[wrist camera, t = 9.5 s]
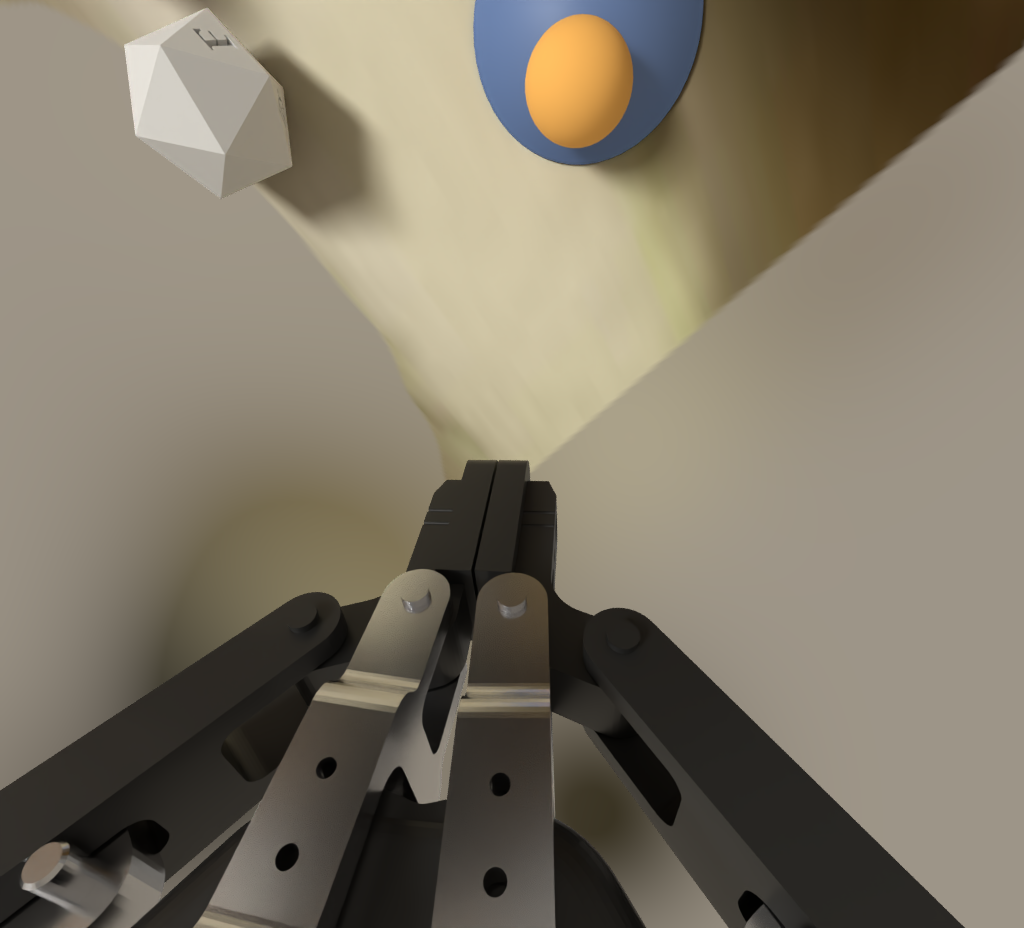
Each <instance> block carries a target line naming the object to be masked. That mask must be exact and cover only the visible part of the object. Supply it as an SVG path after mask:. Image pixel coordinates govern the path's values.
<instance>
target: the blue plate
mask: <svg viewBox="0 0 1024 928" xmlns="http://www.w3.org/2000/svg"><path fill="white" fill-rule="evenodd" d="M576 14H590V15H595V16H598V17H600V18H602V19H604V20H606V21H608V22H609V23H610V24H611V25H613V26H614V27H615V28H616V29H617V30H618V31H619V33H620V34H621V35H622V37H623V38H624V40H625V42H626V44H627V46H628V49H629V52H630V55H631V59H632V65H633V86H632V93H631V97H630V101H629V104H628V106H627V109H626V111H625V113H624V115H623V117H622V119H621V120H620V122H619V123H618V125H617V126H616V127H615V128H614V129H613V130H612V131H611V132H610V133H609V134H608V135H607V136H606V137H605V138H604V139H602V140H600V141H599V142H597V143H595V144H593V145H590V146H587V147H583V148H567V147H563V146H560V145H558V144H556V143H553V142H552V141H550V140H549V139H548V138H546V137H545V136H544V135H543V134H542V133H541V132H540V130H539V129H538V128H537V126H536V125H535V123H534V121H533V119H532V117H531V115H530V112H529V109H528V106H527V102H526V95H525V77H526V71H527V66H528V62H529V59H530V57H531V54H532V52H533V50H534V47H535V46H536V44H537V42H538V41H539V39H540V38H541V37H542V35H543V34H544V33H545V32H546V31H547V30H548V29H549V28H550V27H551V26H552V25H554V24H555V23H556V22H558V21H560V20H561V19H564V18H566V17H569V16H572V15H576ZM702 17H703V0H476V2H475V11H474V47H475V55H476V62H477V67H478V71H479V75H480V79H481V82H482V85H483V88H484V91H485V93H486V96H487V98H488V100H489V102H490V104H491V106H492V108H493V111H494V112H495V114H496V115H497V117H498V118H499V120H500V121H501V123H502V124H503V126H504V127H505V128H506V129H507V130H508V132H509V133H510V134H511V135H512V136H513V137H514V138H515V139H516V140H517V141H518V142H520V143H521V144H522V145H523V146H525V147H526V148H527V149H529V150H530V151H532V152H533V153H535V154H537V155H539V156H541V157H543V158H546V159H549V160H552V161H555V162H559V163H565V164H581V165H583V164H591V163H597V162H600V161H604V160H607V159H610V158H613V157H615V156H617V155H619V154H622V153H624V152H625V151H627V150H628V149H630V148H632V147H633V146H635V145H636V144H638V143H639V142H640V141H641V140H643V139H644V138H645V137H646V136H647V135H648V134H649V133H650V132H651V131H652V130H653V129H654V128H655V127H656V126H657V125H658V124H659V123H660V122H661V121H662V119H663V118H664V117H665V116H666V114H667V113H668V112H669V111H670V109H671V107H672V106H673V104H674V103H675V101H676V100H677V98H678V96H679V94H680V92H681V90H682V88H683V86H684V84H685V82H686V80H687V78H688V75H689V73H690V70H691V68H692V65H693V62H694V59H695V55H696V52H697V48H698V44H699V39H700V33H701V27H702Z"/></svg>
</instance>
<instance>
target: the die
mask: <svg viewBox="0 0 1024 928" xmlns="http://www.w3.org/2000/svg"><path fill="white" fill-rule="evenodd" d="M124 46H125V54H126V62H127V71H128V78H129V87H130V95H131V103H132V111H133V119H134V127H135V134H136V137H138V138H139V139H141V140H142V141H143V142H145V143H146V144H147V145H149V146H150V147H151V148H153V149H154V150H155V151H157V152H158V153H160V154H161V155H162V156H164V157H165V158H166V159H168V160H169V161H170V162H172V163H173V164H174V165H176V166H177V167H178V168H180V169H181V170H182V171H184V172H185V173H187V174H188V175H189V176H191V177H192V178H193V179H195V180H196V181H197V182H199V183H200V184H201V185H203V186H204V187H205V188H207V189H208V190H209V191H211V192H212V193H214V194H215V195H216V196H218V197H219V198H220V199H222V198H224V197H226V196H228V195H231V194H233V193H235V192H237V191H239V190H242V189H244V188H246V187H248V186H251V185H253V184H255V183H257V182H259V181H262V180H264V179H266V178H268V177H271V176H273V175H275V174H277V173H279V172H282V171H284V170H286V169H288V168H290V167H293V166H292V157H291V149H290V141H289V132H288V124H287V116H286V107H285V99H284V91H283V87H282V86H281V85H280V84H279V83H278V82H277V81H276V80H275V78H274V77H273V76H272V75H271V74H270V73H269V72H268V71H267V70H266V69H265V68H264V67H263V66H262V65H261V64H260V63H259V62H258V61H257V59H256V58H255V57H254V56H253V55H252V54H251V53H250V52H249V51H248V50H247V49H246V48H245V47H244V46H243V45H242V44H241V42H240V41H239V40H238V39H237V38H236V37H235V36H234V35H233V34H232V33H231V32H230V31H229V30H228V29H227V28H226V27H225V26H224V25H223V23H222V22H221V21H220V20H219V19H218V18H217V17H216V16H215V15H214V14H213V13H212V12H211V11H210V10H209V9H208V8H205V9H202V10H200V11H198V12H196V13H194V14H191V15H189V16H187V17H185V18H182V19H180V20H178V21H176V22H174V23H171V24H169V25H167V26H165V27H162V28H160V29H158V30H156V31H154V32H151V33H149V34H147V35H145V36H143V37H140V38H138V39H136V40H134V41H131V42H129V43H127V44H125V45H124Z"/></svg>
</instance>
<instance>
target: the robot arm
mask: <svg viewBox="0 0 1024 928" xmlns="http://www.w3.org/2000/svg"><path fill="white" fill-rule="evenodd" d="M556 510H557V506H556V494H555V492H554V491H553V489H552V487H551V485H550V483H549V482H548V481H530V468H529V461H520V460H499V462H498V461H497V460H468V461H467V464H466V467H465V470H464V473H463V477H462V480H446V481H445V482H444V484H443V485H442V486H441V487H440V488H439V489H438V490H437V491H436V492H435V493H434V495H433V498H432V501H431V503H430V506H429V512H427V515H426V517H425V520H424V525H423V526H422V529H421V532H420V534H419V537H418V540H417V543H416V546H415V549H414V551H413V554H412V557H411V560H410V562H409V565H408V568H407V571H406V573H403V574H401V575H399V576H398V577H396V578H395V579H394V580H393V581H391V583H389V584H388V586H387V587H386V588H385V590H384V592H383V594H382V596H380V597H377V598H375V599H372V600H368V601H364V602H360V603H355V604H351V605H347V606H342V607H340V605H339V603H338V601H337V600H336V599H335V598H334V597H333V596H331V595H329V594H326V593H321V592H312V593H307V594H303V595H300V596H298V597H295V598H293V599H292V600H290V601H288V602H287V603H285V604H284V605H282V606H281V607H279V608H278V609H276V610H274V611H273V612H271V613H270V614H268V615H267V616H265V617H264V618H262V619H261V620H259V621H258V622H256V623H255V624H253V625H252V626H250V627H249V628H247V629H246V630H244V631H243V632H241V633H239V634H238V635H236V636H235V637H233V638H232V639H230V640H229V641H227V642H226V643H224V644H223V645H221V646H220V647H218V648H217V649H215V650H214V651H212V652H210V653H209V654H208V655H206V656H204V657H203V658H201V659H200V660H199V661H197V662H195V663H194V664H192V665H191V666H189V667H188V668H186V669H185V670H183V671H182V672H180V673H179V674H177V675H175V676H174V677H173V678H171V679H169V680H168V681H166V682H165V683H163V684H162V685H160V686H159V687H157V688H156V689H154V690H153V691H151V692H150V693H148V694H147V695H145V696H144V697H142V698H140V699H139V700H137V701H136V702H135V703H133V704H131V705H130V706H128V707H127V708H125V709H124V710H122V711H121V712H119V713H118V714H116V715H115V716H113V717H112V718H110V719H108V720H107V721H106V722H104V723H103V724H101V725H99V726H98V727H96V728H95V729H93V730H92V731H90V732H89V733H87V734H86V735H84V736H83V737H81V738H80V739H78V740H77V741H75V742H74V743H72V744H71V745H69V746H67V747H66V748H65V749H63V750H61V751H60V752H58V753H57V754H55V755H54V756H52V757H51V758H49V759H48V760H46V761H45V762H43V763H42V764H40V765H38V766H37V767H35V768H34V769H33V770H31V771H29V772H28V773H26V774H25V775H23V776H22V777H20V778H19V779H17V780H16V781H14V782H13V783H11V784H10V785H8V786H6V787H5V788H3V789H2V790H0V928H646V927H645V925H644V923H643V921H642V920H641V918H640V917H639V915H638V913H637V911H636V910H635V908H634V906H633V905H632V903H631V901H630V900H629V898H628V896H627V894H626V893H625V891H624V889H623V888H622V886H621V884H620V883H619V881H618V879H617V878H616V876H615V874H614V873H613V871H612V870H611V868H610V867H609V866H608V864H607V863H606V862H605V860H604V859H603V858H602V857H601V855H600V854H599V853H598V852H597V851H596V850H595V848H594V847H593V846H592V845H591V844H590V843H589V842H588V841H587V840H586V839H585V838H583V837H582V836H581V835H580V834H578V833H577V832H576V831H575V830H573V829H572V828H570V827H569V826H567V825H565V824H564V823H562V822H561V821H559V820H557V819H555V806H554V805H555V803H554V774H553V773H554V772H553V737H552V712H554V713H556V714H559V715H561V716H563V717H565V718H568V719H570V720H572V721H575V722H577V723H579V724H581V725H583V727H584V729H585V731H586V733H587V735H588V736H589V737H590V739H591V740H592V742H593V743H594V744H595V746H596V747H597V749H598V750H599V751H600V753H601V754H602V755H603V757H604V758H605V759H606V761H607V762H608V764H609V765H610V766H611V767H612V769H613V770H614V772H615V773H616V774H617V776H618V777H619V779H620V780H621V781H622V783H623V784H624V785H625V787H626V788H627V789H628V791H629V792H630V794H631V795H632V796H633V797H634V799H635V800H636V802H637V803H638V804H639V806H640V807H641V809H642V810H643V811H644V812H645V814H646V815H647V817H648V818H649V819H650V821H651V822H652V824H653V825H654V826H655V828H656V829H657V830H658V832H659V833H660V834H661V836H662V837H663V839H664V840H665V841H666V843H667V844H668V845H669V847H670V848H671V849H672V851H673V852H674V854H675V855H676V856H677V858H678V859H679V860H680V862H681V863H682V864H683V866H684V867H685V869H686V870H687V871H688V873H689V874H690V875H691V877H692V878H693V879H694V881H695V882H696V884H697V885H698V886H699V888H700V889H701V890H702V892H703V893H704V894H705V896H706V897H707V899H708V900H709V901H710V903H711V904H712V905H713V907H714V908H715V910H716V911H717V912H718V914H719V915H720V916H721V918H722V919H723V920H724V922H725V923H726V924H727V926H728V927H729V928H965V927H964V926H963V925H961V924H960V923H959V922H958V921H957V920H956V919H955V918H954V917H953V916H952V915H951V914H950V913H949V912H948V911H947V910H946V909H945V908H944V907H943V906H942V905H941V904H940V903H939V902H938V901H937V900H936V899H935V898H934V897H933V896H932V895H931V894H930V893H929V892H928V891H927V890H926V889H925V888H924V887H923V886H922V885H920V884H919V882H918V881H916V880H915V879H914V878H913V877H912V876H911V875H910V874H909V873H908V872H907V871H906V870H905V869H904V868H903V867H902V866H901V865H900V864H899V863H898V862H897V861H896V860H895V859H894V858H893V857H892V856H891V855H890V854H889V853H888V852H887V851H886V850H885V849H884V848H883V847H882V846H881V845H880V844H879V843H878V842H877V841H876V840H875V839H873V838H872V837H871V836H870V835H869V834H868V833H867V832H866V831H865V830H864V829H863V828H862V827H861V826H860V825H859V824H858V823H857V822H856V821H855V820H854V819H853V818H852V817H851V816H850V815H849V814H848V813H847V812H846V811H845V810H844V809H843V808H842V807H841V806H840V805H839V804H838V803H837V802H836V801H835V800H834V799H833V798H832V797H830V795H828V793H826V792H825V791H824V790H823V789H822V788H821V787H820V786H819V785H818V784H817V783H816V782H815V781H814V780H813V779H812V778H811V777H810V776H809V775H808V774H807V773H806V772H805V771H804V770H803V769H802V768H801V767H800V766H799V765H798V764H797V763H796V762H795V761H794V760H792V758H791V757H789V755H788V754H787V753H786V752H784V750H782V749H781V748H780V747H779V746H778V745H777V744H776V743H775V742H774V741H773V740H772V739H771V738H770V737H769V736H768V735H767V734H766V733H765V732H764V731H763V730H762V729H761V728H760V727H759V726H758V725H757V724H756V723H755V722H754V721H753V720H752V719H751V718H750V717H749V716H748V715H747V714H746V713H745V712H744V711H743V710H742V709H741V708H740V707H739V706H738V705H736V704H735V703H734V702H733V701H732V700H731V699H730V698H729V697H728V696H727V695H726V694H725V693H724V692H723V691H722V690H721V689H720V688H719V687H718V686H717V685H716V684H715V683H714V682H713V681H712V680H711V679H710V678H709V677H708V676H707V675H706V674H705V673H704V672H703V671H702V670H701V669H700V668H699V667H698V666H697V665H696V664H694V663H693V661H692V660H690V659H689V658H688V657H687V656H686V655H685V654H684V653H683V652H682V651H681V650H680V649H679V648H678V647H677V646H676V645H675V644H674V643H673V642H672V641H671V640H670V639H669V638H668V637H667V636H666V635H665V634H664V633H663V632H662V631H661V630H660V629H659V628H658V627H657V626H656V625H655V624H654V623H652V621H650V620H649V619H648V618H647V617H645V616H644V615H642V614H641V613H638V612H636V611H633V610H630V609H625V608H611V609H607V610H603V611H601V612H599V613H597V614H596V615H595V616H593V615H590V614H587V613H584V612H582V611H579V610H576V609H574V608H572V607H570V606H569V605H567V604H566V603H564V602H563V601H562V600H561V599H560V598H559V597H558V595H557V594H556V593H555V591H554V589H555V569H556V552H557V511H556ZM470 640H472V649H471V659H470V667H469V676H468V685H467V691H466V695H465V696H462V698H461V700H460V696H461V693H462V689H463V685H464V682H465V678H466V674H467V664H466V660H467V655H468V650H469V645H470ZM459 700H460V703H459ZM458 704H459V708H458V713H457V722H456V729H455V738H454V746H453V755H452V762H451V770H450V779H449V788H448V795H447V800H442V801H439V799H440V793H441V782H442V765H443V759H444V755H445V751H446V747H447V744H448V740H449V736H450V733H451V729H452V725H453V721H454V718H455V714H456V711H457V707H458ZM259 801H261V802H260V804H259V806H258V808H257V810H256V812H255V814H254V816H253V818H252V820H250V821H249V822H248V823H246V824H245V825H244V826H243V827H241V828H240V829H239V830H238V831H236V832H235V833H234V834H233V835H232V836H231V837H230V838H229V839H227V840H226V841H225V842H224V843H223V844H222V845H221V846H220V847H219V848H218V849H216V850H215V851H214V852H213V853H212V854H211V855H210V856H209V857H208V858H207V859H205V860H204V861H203V862H202V863H201V864H200V865H199V866H198V867H197V868H196V869H194V871H192V872H191V873H190V874H189V875H188V876H187V877H186V878H185V879H183V880H182V881H181V882H180V883H179V884H178V885H177V886H176V887H175V888H174V889H172V890H171V891H170V892H169V893H168V894H167V895H166V896H165V897H164V898H163V899H162V900H161V898H160V896H161V894H162V890H163V887H164V883H165V882H166V881H167V880H168V879H169V878H170V877H171V876H173V875H174V874H175V873H176V872H177V871H179V870H180V869H181V868H182V867H183V866H184V865H186V864H187V863H188V862H189V861H190V860H192V859H193V858H194V857H195V856H196V855H197V854H199V853H200V852H201V851H202V850H203V849H204V848H206V847H207V846H208V845H209V844H210V843H211V842H213V841H214V840H215V839H216V838H217V837H218V836H220V835H221V834H222V833H223V832H224V831H225V830H226V829H228V828H229V827H230V826H231V825H232V824H233V823H235V822H236V821H237V820H238V819H239V818H241V817H242V816H243V815H244V814H245V813H246V812H247V811H249V810H250V809H251V808H252V807H254V806H255V805H256V804H257V803H258V802H259Z"/></svg>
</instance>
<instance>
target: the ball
mask: <svg viewBox="0 0 1024 928" xmlns="http://www.w3.org/2000/svg"><path fill="white" fill-rule="evenodd" d="M632 86H633V65H632V59H631V55H630V52H629V49H628V46H627V44H626V42H625V40H624V38H623V37H622V35H621V34H620V33H619V31H618V30H617V29H616V28H615V27H614V26H613V25H611V24H610V23H609V22H608V21H606V20H604V19H602V18H600V17H598V16H595V15H590V14H576V15H572V16H569V17H566V18H564V19H561V20H560V21H558V22H556V23H555V24H554V25H552V26H551V27H550V28H549V29H548V30H547V31H546V32H545V33H544V34H543V35H542V37H541V38H540V39H539V41H538V42H537V44H536V46H535V47H534V50H533V52H532V54H531V57H530V59H529V62H528V66H527V71H526V77H525V95H526V102H527V106H528V109H529V112H530V115H531V117H532V119H533V121H534V123H535V125H536V126H537V128H538V129H539V130H540V132H541V133H542V134H543V135H544V136H545V137H546V138H548V139H549V140H550V141H552V142H553V143H556V144H558V145H560V146H563V147H567V148H583V147H587V146H590V145H593V144H595V143H597V142H599V141H600V140H602V139H604V138H605V137H606V136H607V135H608V134H609V133H610V132H611V131H612V130H613V129H614V128H615V127H616V126H617V125H618V123H619V122H620V120H621V119H622V117H623V115H624V113H625V111H626V109H627V106H628V104H629V101H630V97H631V93H632Z"/></svg>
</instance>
